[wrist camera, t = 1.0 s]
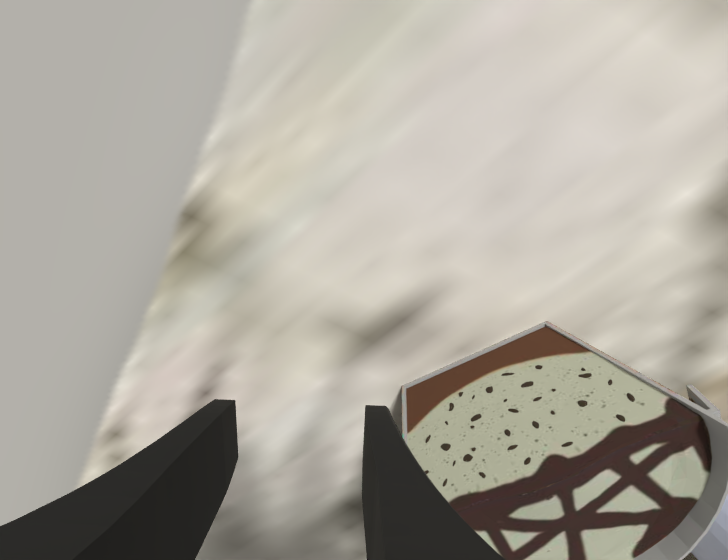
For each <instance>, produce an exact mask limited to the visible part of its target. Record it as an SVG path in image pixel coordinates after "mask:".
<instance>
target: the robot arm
mask: <svg viewBox="0 0 728 560" xmlns="http://www.w3.org/2000/svg"><path fill="white" fill-rule="evenodd" d="M237 460H238V443H237V425H236V406H235V400H218V399H215V400H213V401H212V402H210V403H209V404H207V405H206V406H204V407H203V408H201V409H200V410H199V411H197V412H196V413H195V414H193V415H192V416H190V417H189V418H188V419H186V420H185V421H184V422H182V423H181V424H179V425H178V426H177V427H175V428H174V429H172V430H171V431H169V432H168V433H167V434H165V435H164V436H162V437H161V438H160V439H158V440H157V441H155V442H154V443H152V444H151V445H149V446H148V447H146V448H144V449H143V450H141V451H140V452H138V453H137V454H135V455H134V456H132V457H131V458H129V459H128V460H126V461H125V462H123V463H121V464H120V465H118V466H117V467H115V468H113V469H112V470H110V471H108V472H107V473H105V474H103V475H101V476H100V477H98V478H96V479H94V480H93V481H91V482H89V483H87V484H85V485H84V486H82V487H80V488H78V489H76V490H74V491H73V492H71V493H69V494H67V495H65V496H63V497H61V498H59V499H57V500H55V501H53V502H51V503H49V504H47V505H45V506H42V507H40V508H38V509H36V510H35V511H32V512H30V513H28V514H26V515H24V516H22V517H20V518H18V519H16V520H14V521H11V522H9V523H7V524H5V525H2V526H0V560H195V558H196V556H197V554H198V552H199V550H200V548H201V546H202V544H203V542H204V539H205V537H206V535H207V533H208V531H209V529H210V527H211V525H212V523H213V520H214V518H215V516H216V514H217V512H218V510H219V508H220V505H221V503H222V501H223V499H224V497H225V495H226V492H227V490H228V487H229V484H230V481H231V478H232V475H233V472H234V469H235V466H236V463H237ZM362 502H363V515H364V528H365V540H366V552H367V560H505V559H504V558H503V557H502V556H501V555H500V554H498V553H497V552H496V551H495V550H494V549H493V548H492V547H491V546H490V545H489V544H488V543H487V542H486V541H485V540H484V539H483V538H482V537H481V536H480V535H478V534H477V533H476V532H475V531H474V530H473V529H472V528H471V527H470V526H469V525H468V524H467V523H466V522H465V521H464V519H463V518H462V517H461V516H460V515H459V514H458V513H457V512H456V511H455V510H454V508H453V507H452V506H451V505H450V504H449V503H448V501H447V500H446V499H445V498H444V497H443V496H442V494H441V493H440V492H439V491H438V489H437V488H436V487H435V485H434V484H433V483H432V481H431V480H430V479H429V477H428V476H427V475H426V473H425V472H424V470H423V469H422V468H421V466H420V465H419V463H418V462H417V460H416V459H415V457H414V456H413V454H412V452H411V451H410V449H409V447H408V446H407V444H406V443H405V441H404V439H403V437H402V436H401V434H400V432H399V430H398V428H397V426H396V424H395V422H394V420H393V418H392V416H391V413H390V411H389V409H388V408H387V407H386V406H371V405H366V407H365V426H364V445H363V468H362ZM691 553H692V554H693V555H694V556H695V557H696V558H697V559H698V560H728V494H727V496H726V499H725V501H724V504H723V506H722V509H721V511H720V513H719V515H718V516H717V518H716V519H715V521H714V523H713V524H712V526H711V528H710V529H709V531H708V532H707V534H706V535H705V536H704V537H703V538H702V540H701V541H700V542H699V543H698V544H697V546H696V547H695V548H694V549H693V550H692V551H691Z"/></svg>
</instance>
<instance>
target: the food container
mask: <svg viewBox="0 0 728 560" xmlns="http://www.w3.org/2000/svg"><path fill="white" fill-rule="evenodd" d="M686 386H687V391H688V396H689V400H688V399H686V398H684V397H682V396H681V395H679V394H677V393H675V392H673V391H672V390H670V389H668V388H666V387H664V386H663V385H661V384H659V383H657V382H655V381H654V380H652V379H650V378H648V377H646V376H645V375H643V374H641V373H639V372H637V371H636V370H634V369H632V368H630V367H629V366H627V365H625V364H623V363H621V362H620V361H618V360H616V359H614V358H612V357H611V356H609V355H607V354H605V353H603V352H602V351H600V350H598V349H596V348H594V347H593V346H591V345H589V344H587V343H585V342H584V341H582V340H580V339H578V338H576V337H575V336H573V335H571V334H569V333H567V332H566V331H564V330H562V329H560V328H558V327H557V326H555V325H553V324H551V323H549V322H548V321H545V322H543V323H541V324H539V325H537V326H534V327H532V328H530V329H528V330H525V331H523V332H521V333H519V334H517V335H514V336H512V337H510V338H508V339H505V340H503V341H501V342H499V343H497V344H494V345H492V346H490V347H488V348H485V349H483V350H481V351H479V352H477V353H474V354H472V355H470V356H468V357H465V358H463V359H461V360H459V361H457V362H454V363H452V364H450V365H448V366H445V367H443V368H441V369H439V370H437V371H434V372H432V373H430V374H428V375H425V376H423V377H421V378H419V379H417V380H414V381H412V382H410V383H408V384H405V385H403V386H402V437H403V439H404V441H405V443H406V444H407V446H408V447H409V449H410V451H411V452H412V454H413V456H414V457H415V459H416V460H417V462H418V463H419V465H420V466H421V468H422V469H423V470H424V472H425V473H426V475H427V476H428V477H429V479H430V480H431V481H432V483H433V484H434V485H435V487H436V488H437V489H438V491H439V492H440V493H441V494H442V496H443V497H444V498H445V499H446V500H447V501H448V503H449V504H450V505H451V506H452V507H453V508H454V510H455V511H456V512H457V513H458V514H459V515H460V516H461V517H462V518H463V519H464V521H465V522H466V523H467V524H468V525H469V526H470V527H471V528H472V529H473V530H474V531H475V532H476V533H477V534H478V535H480V536H481V537H482V538H483V539H484V540H485V541H486V542H487V543H488V544H489V545H490V546H491V547H492V548H493V549H494V550H495V551H496V552H497V553H498V554H500V555H501V556H502V557H503V558H504V559H505V560H683V559H684V558H685V557H686V556H687V555H688V554H689V553H690V552H691V551H692V550H693V549H694V548H695V547H696V546H697V544H698V543H699V542H700V541H701V540H702V538H703V537H704V536H705V535H706V534H707V532H708V531H709V529H710V528H711V526H712V524H713V523H714V521H715V519H716V518H717V516H718V515H719V513H720V511H721V509H722V506H723V504H724V501H725V499H726V496H727V494H728V424H727V423H726V422H724V421H723V420H722V419H721V415H720V410H719V409H718V408H717V407H716V406H714V405H713V404H712V403H711V402H710V401H709V400H708V399H707V398H706V397H705V396H704V395H702V394H701V393H700V392H699V391H698V390H697V389H696V388H695V387H694V386H693V385H692V384H690V385H686Z"/></svg>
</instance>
